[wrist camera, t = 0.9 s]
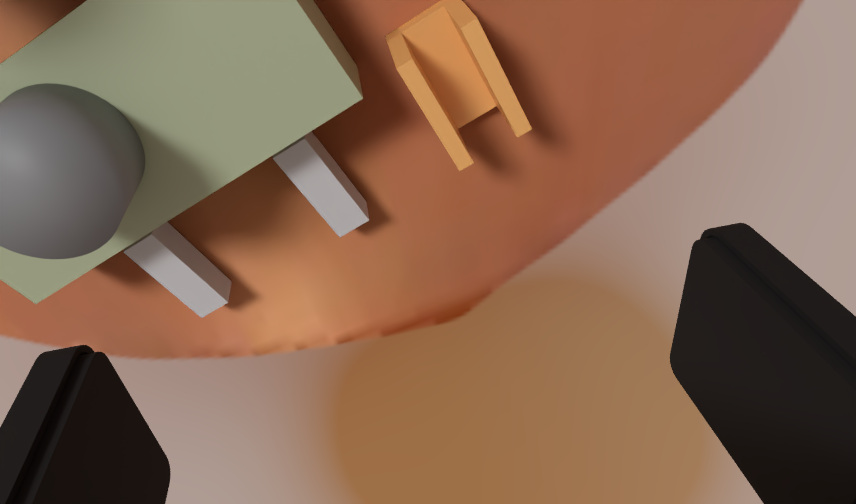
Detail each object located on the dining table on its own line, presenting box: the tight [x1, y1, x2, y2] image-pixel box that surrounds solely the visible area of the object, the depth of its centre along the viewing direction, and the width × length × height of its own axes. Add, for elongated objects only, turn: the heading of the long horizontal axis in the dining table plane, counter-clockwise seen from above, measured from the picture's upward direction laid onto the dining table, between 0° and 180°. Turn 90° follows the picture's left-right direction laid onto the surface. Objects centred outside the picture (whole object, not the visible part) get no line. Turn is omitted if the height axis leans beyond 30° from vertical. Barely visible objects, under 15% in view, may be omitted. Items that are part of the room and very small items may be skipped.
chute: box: [385, 0, 532, 171], centre depth 29 cm, size 4×6×5 cm, turn 30°
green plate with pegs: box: [0, 0, 369, 318], centre depth 28 cm, size 20×16×8 cm
